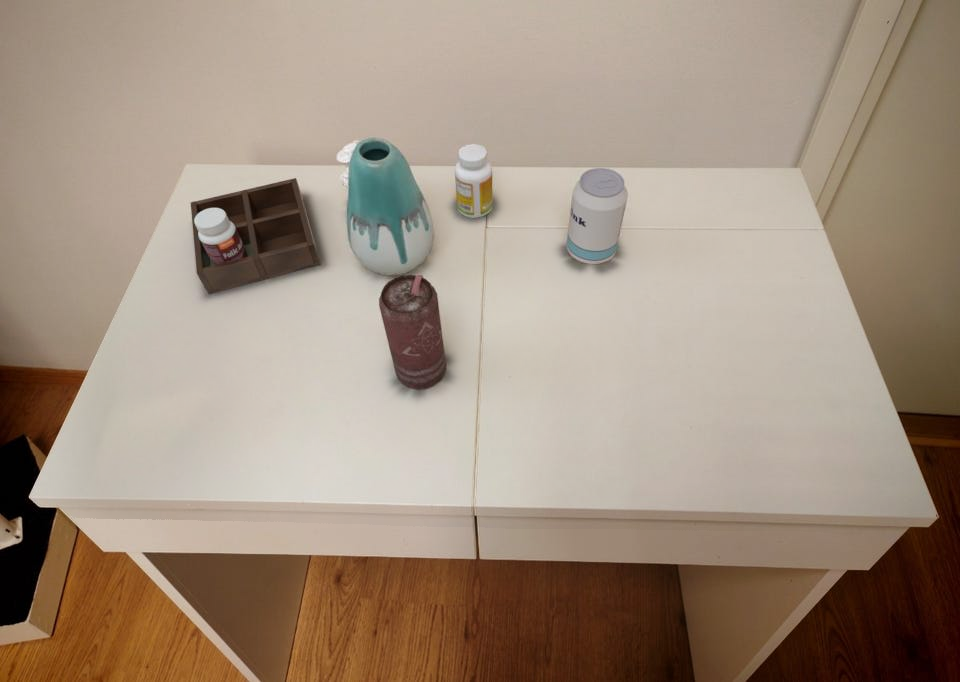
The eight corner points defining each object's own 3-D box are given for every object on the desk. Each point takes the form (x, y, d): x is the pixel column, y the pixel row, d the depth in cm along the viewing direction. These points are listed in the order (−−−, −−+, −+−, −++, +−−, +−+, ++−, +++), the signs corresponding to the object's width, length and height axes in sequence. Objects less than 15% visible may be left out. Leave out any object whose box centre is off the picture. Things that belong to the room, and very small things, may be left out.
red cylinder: (452, 353, 73) (444, 274, 62) (438, 395, 70) (427, 320, 59) (405, 345, 74) (389, 265, 63) (389, 386, 71) (369, 310, 59)
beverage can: (559, 240, 85) (566, 170, 76) (604, 230, 86) (617, 160, 76) (575, 273, 81) (585, 204, 71) (623, 263, 82) (639, 193, 72)
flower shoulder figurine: (373, 227, 88) (357, 158, 78) (346, 228, 88) (328, 159, 78) (378, 189, 93) (364, 120, 84) (353, 189, 93) (337, 121, 84)
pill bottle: (237, 279, 81) (214, 233, 74) (208, 271, 82) (183, 225, 76) (257, 256, 84) (236, 209, 77) (228, 248, 85) (205, 202, 78)
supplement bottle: (490, 193, 92) (489, 138, 84) (495, 216, 89) (494, 161, 81) (455, 197, 91) (451, 142, 84) (459, 220, 88) (455, 165, 81)
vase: (451, 266, 83) (441, 156, 68) (375, 299, 79) (348, 190, 65) (414, 218, 89) (397, 109, 75) (342, 247, 85) (310, 138, 71)
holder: (208, 294, 81) (196, 273, 77) (201, 223, 90) (190, 202, 86) (320, 264, 83) (313, 243, 80) (303, 198, 92) (295, 177, 89)
